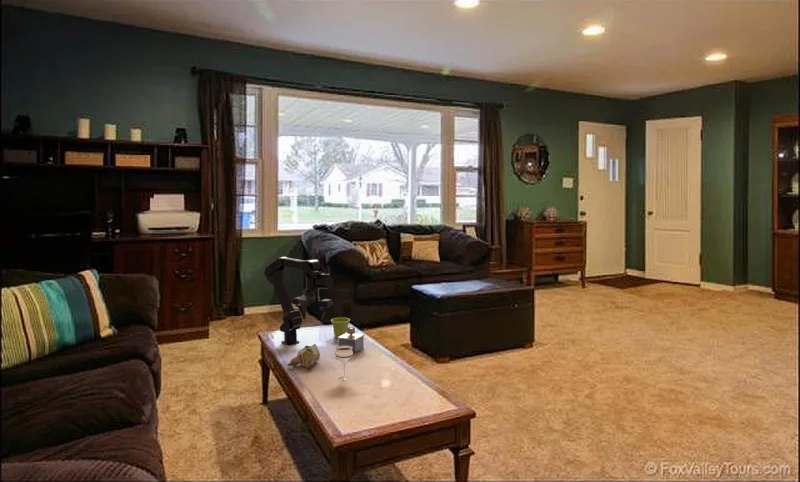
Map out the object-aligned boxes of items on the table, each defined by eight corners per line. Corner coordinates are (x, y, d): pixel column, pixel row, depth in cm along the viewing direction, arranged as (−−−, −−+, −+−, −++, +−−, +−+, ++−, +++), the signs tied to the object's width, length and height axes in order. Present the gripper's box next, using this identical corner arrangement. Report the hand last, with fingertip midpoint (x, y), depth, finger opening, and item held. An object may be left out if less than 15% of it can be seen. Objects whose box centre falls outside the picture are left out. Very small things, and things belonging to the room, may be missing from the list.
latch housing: (338, 352, 231) (337, 337, 230) (349, 345, 240) (349, 331, 240) (355, 354, 227) (355, 339, 227) (366, 347, 237) (366, 333, 237)
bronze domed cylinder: (345, 348, 232) (345, 328, 231) (349, 346, 235) (349, 326, 234) (352, 349, 230) (352, 329, 230) (356, 346, 234) (356, 327, 233)
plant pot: (349, 339, 251) (348, 322, 250) (329, 339, 251) (329, 322, 250) (351, 334, 260) (350, 317, 260) (332, 334, 261) (332, 317, 260)
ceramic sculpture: (325, 341, 217) (307, 353, 204) (327, 360, 219) (308, 374, 205) (304, 339, 221) (284, 351, 207) (305, 358, 222) (286, 371, 209)
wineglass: (353, 374, 202) (353, 345, 201) (352, 381, 195) (352, 350, 194) (336, 375, 202) (336, 345, 201) (334, 381, 195) (334, 350, 194)
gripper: (285, 288, 231) (286, 322, 233) (320, 291, 224) (321, 326, 226) (299, 284, 242) (299, 316, 243) (333, 287, 235) (333, 320, 236)
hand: (313, 320), depth 237 cm, fingers open, 9 cm apart
